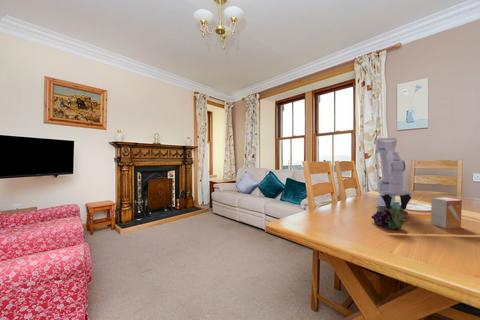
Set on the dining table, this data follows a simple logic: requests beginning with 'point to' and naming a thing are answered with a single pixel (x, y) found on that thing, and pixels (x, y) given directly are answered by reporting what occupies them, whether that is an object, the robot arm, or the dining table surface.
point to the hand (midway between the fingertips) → (395, 209)
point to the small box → (446, 212)
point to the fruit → (389, 219)
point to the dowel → (396, 205)
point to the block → (403, 213)
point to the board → (381, 208)
